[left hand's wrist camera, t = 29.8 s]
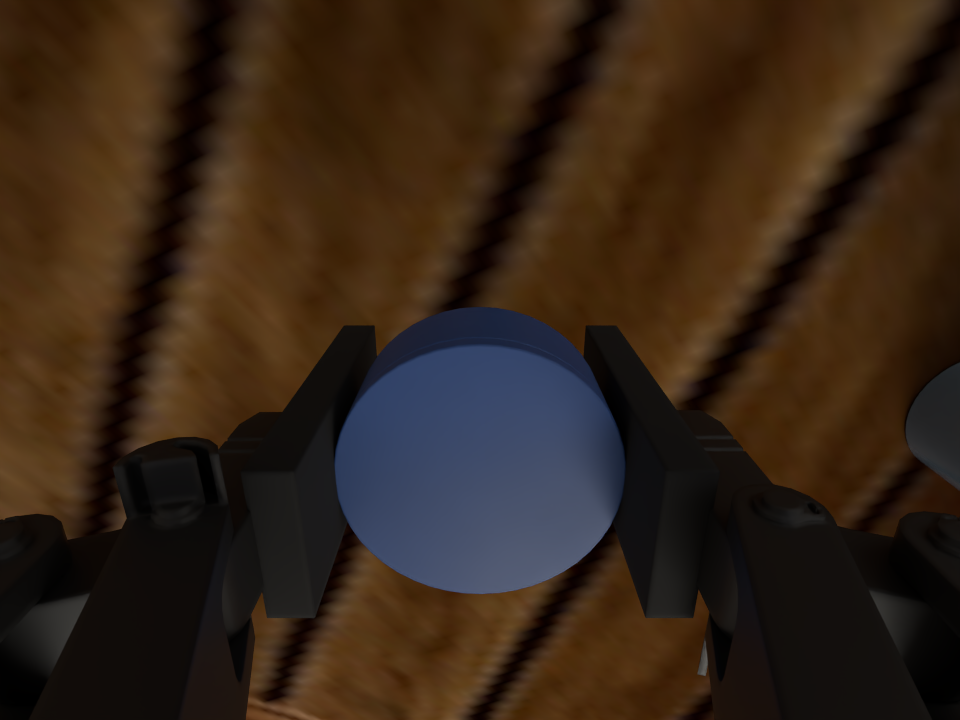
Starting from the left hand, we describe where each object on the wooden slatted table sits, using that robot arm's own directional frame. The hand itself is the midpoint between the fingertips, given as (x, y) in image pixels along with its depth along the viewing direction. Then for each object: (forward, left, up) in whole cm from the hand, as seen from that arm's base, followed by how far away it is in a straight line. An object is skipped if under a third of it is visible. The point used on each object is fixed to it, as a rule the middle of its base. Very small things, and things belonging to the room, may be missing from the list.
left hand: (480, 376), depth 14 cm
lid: (0, 0, +4) cm, 4 cm away
